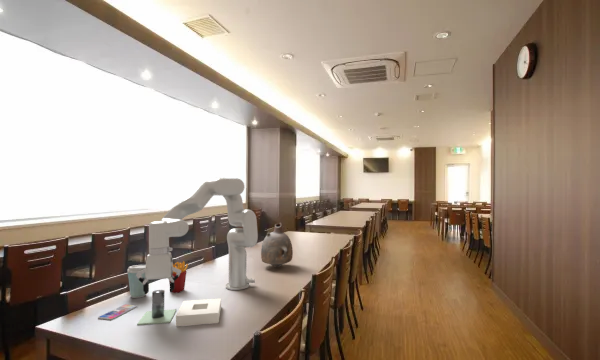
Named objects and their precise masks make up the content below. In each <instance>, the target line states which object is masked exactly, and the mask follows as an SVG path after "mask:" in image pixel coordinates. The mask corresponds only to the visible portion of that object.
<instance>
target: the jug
mask: <svg viewBox="0 0 600 360" xmlns="http://www.w3.org/2000/svg"><path fill="white" fill-rule="evenodd" d="M260 249H261V250H260V256H261V257H260V258H261V261H262V263H265V264H267V265H268V264H269V265H271V266H273V267H274V268H279V267H281V266H283V265H285V264H287V263H290V262H292V261H293V253H294V252H293V245H292V241H291V239H290V236H288V234H286V233H284V232H283V225H282V222H279V223H275V224H274V228H273V231H271V232H267V233H266V235H265V237H264V239H263V241H262V244H261V248H260Z"/></svg>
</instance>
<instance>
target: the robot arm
mask: <svg viewBox="0 0 600 360" xmlns="http://www.w3.org/2000/svg"><path fill="white" fill-rule="evenodd" d="M244 190H245V183H244V181H243V180H242V179H241V178H225V177H223V178H222V177H215V178H212V177H211V178H210V177H209V178H205V179H203V180H202V181H201V182H200V183H199V184H198V186H196V188H195V189H194V190H193V191H192V193H190V194H189V196H188V197H187V198H186V199H184V200H182V201H181V202H179V203H178V204H176V205H175V206H173V207H172V208H171V209H169V210H168V211H167V212H166V213H165V215H163V217H162V218H161V220H155V221H152V222H149V225H148V254H147V256H146V261H145V265H146V267H145V269H144V270H142V271H140V272H138V273H137V274H136V276H137V278H138V279H139V281H140V282H141V283H142V284H143V292H145V295H147V294H148V293H149V291H150V290H149V289H150V285H149V281H151V280H165V279H168V281H169V280H170V281H171V282H170V284H169V293H173V292H172V291H173V290H174V288H175V280H176V279H177V278H178V277H179V275H180V273H181V270H179V269H178V267H177V268H176V267H175V268H174V267H173V265H174V263H173V257H172V253H171V252H172V251H173V247H170V242H169V241H170V238H179V237H180V238H181V237H184V236H185V235H186V234H187V233H188V231H189V228H190V227H189V224H188V222H187V221H185V220H184V219H185V218H186V217H187V216H189V215H194V214H195V213H199V212H200V211H202V210H203V209H204V208H205V206H206V205H207V204H208V203H209V202H210V200H211V199H212V198H213V197H214V196H222V197H223V198H224V200H225V202H226V211H227V220H228V223H229V224H230V226H233V227H235V228H231V229H229V231H228V232H227V235H226V240H227V241H226V242H227V246H228V282H227V283H226V284H225V288H226V289H227V290H232V291H239V290H240V291H241V290H244V289H247V288H249V287H250V283H251V284H253V283H256V280H255V279H256V278H248V276H247V255H248V254H247V250H246V248H254V247H255V246H256V245H257V243H258V237H259V233H258V223H257V222H258V221H257V220H258V219H257V216H256V214H255V212H254V211H253V210H251V209H247V208H246V209H245V208H244V204H243V197H242V196H241V194H243V192H244ZM173 271H174V272H176V273H177V274H176V276H175V277H174V276H173V275H172V274H173ZM143 273H145V278H146V279H144V278H143V277H142V276H141V274H143ZM148 280H149V281H148Z"/></svg>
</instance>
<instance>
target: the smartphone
mask: <svg viewBox="0 0 600 360" xmlns="http://www.w3.org/2000/svg"><path fill="white" fill-rule="evenodd" d="M136 308H138V305H136V304H135V305H133V304H127V303H125V304H123V305H121V306H118V307H117V308H114V309H112V310H110V311H108V312H105V313H103V314H101V315H99V316H98V317H97V320H101V319H103V321H113V320H115V319H118V318H119V317H122V316H124V315H125V314H127V313H129V312H131V311H133V310H135V309H136Z"/></svg>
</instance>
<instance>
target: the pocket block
mask: <svg viewBox="0 0 600 360" xmlns="http://www.w3.org/2000/svg"><path fill="white" fill-rule="evenodd" d="M221 310H222V298H221V297H220V298H209V299H207V298H205V299H193V300H192V299H191V300H183V301H182V303H181V305H180V307H179V309H178V312H177V314H176V315H175V327H184V326H186V327H187V326H197V325H211V324H219V322H220V317H221V316H220V315H221Z"/></svg>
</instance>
